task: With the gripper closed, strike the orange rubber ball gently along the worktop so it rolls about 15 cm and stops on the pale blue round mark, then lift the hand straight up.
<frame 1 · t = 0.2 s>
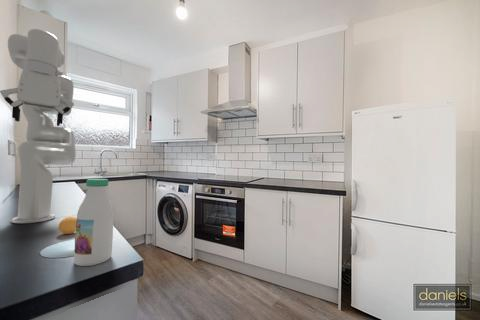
hand: (38, 123, 69), 36 cm above the countertop, tool pointing down, fingers open, 9 cm apart
milk bottle: (93, 260, 53), on the countertop
ball: (69, 225, 71), on the countertop
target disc: (72, 247, 59), on the countertop
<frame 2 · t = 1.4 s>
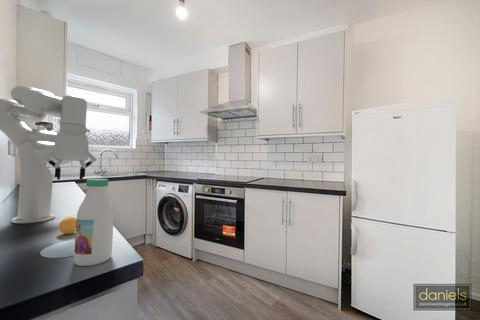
hand: (70, 178, 78), 18 cm above the countertop, tool pointing down, fingers open, 5 cm apart
nothing on the countertop moved.
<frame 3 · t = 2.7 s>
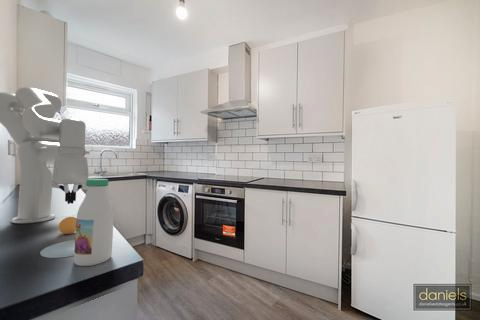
hand: (70, 203, 78), 9 cm above the countertop, tool pointing down, fingers closed
nothing on the countertop moved.
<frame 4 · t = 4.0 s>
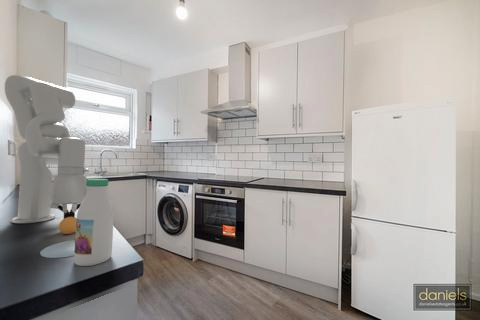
hand: (68, 223, 76), 2 cm above the countertop, tool pointing down, fingers closed
nothing on the countertop moved.
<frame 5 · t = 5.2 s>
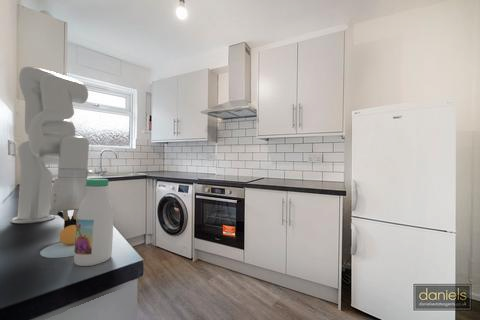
hand: (69, 231, 69), 2 cm above the countertop, tool pointing down, fingers closed
ball: (71, 234, 62), on the countertop
everything else where it was.
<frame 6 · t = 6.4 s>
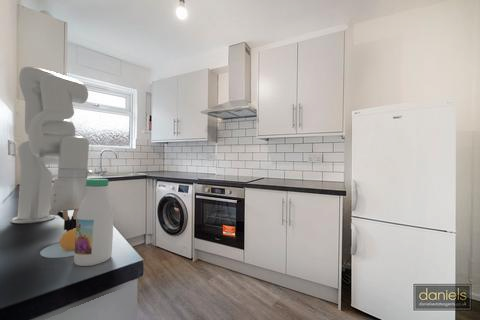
hand: (69, 231, 69), 2 cm above the countertop, tool pointing down, fingers closed
ball: (73, 239, 58), on the countertop
everything else where it was.
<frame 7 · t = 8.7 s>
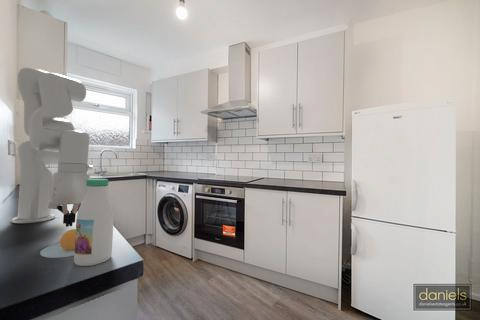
hand: (68, 225, 69), 3 cm above the countertop, tool pointing down, fingers closed
nothing on the countertop moved.
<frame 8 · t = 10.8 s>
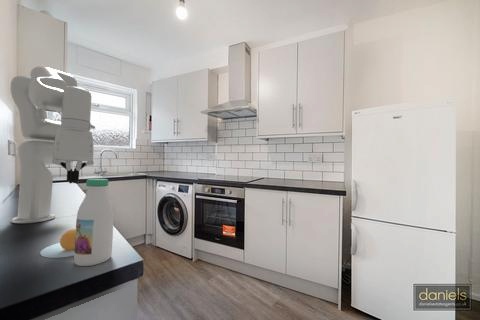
hand: (72, 182, 69), 17 cm above the countertop, tool pointing down, fingers closed
nothing on the countertop moved.
at the end: ball 1.7 cm from the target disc (horizontally); ball at rest at the end (0.0 cm/s); ball moved 16.7 cm from its start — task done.
